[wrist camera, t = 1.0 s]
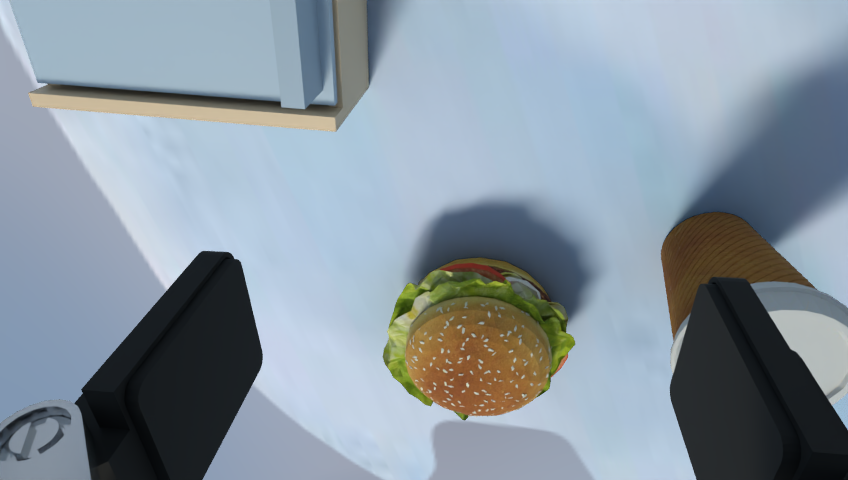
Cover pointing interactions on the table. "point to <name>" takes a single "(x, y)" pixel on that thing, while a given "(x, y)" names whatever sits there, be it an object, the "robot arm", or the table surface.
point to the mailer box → (350, 89)
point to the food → (477, 338)
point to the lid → (186, 47)
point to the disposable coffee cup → (772, 282)
